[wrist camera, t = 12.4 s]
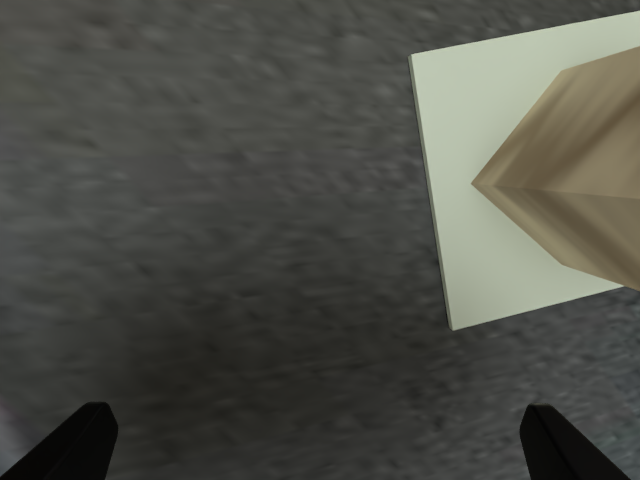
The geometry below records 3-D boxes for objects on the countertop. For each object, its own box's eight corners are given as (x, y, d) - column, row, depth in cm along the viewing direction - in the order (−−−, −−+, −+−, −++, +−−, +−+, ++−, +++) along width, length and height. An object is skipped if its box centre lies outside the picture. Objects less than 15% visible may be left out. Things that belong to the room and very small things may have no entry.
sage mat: (678, 267, 21) (686, 269, 20) (449, 327, 20) (453, 330, 19) (669, 6, 18) (678, 3, 18) (407, 56, 17) (411, 54, 17)
